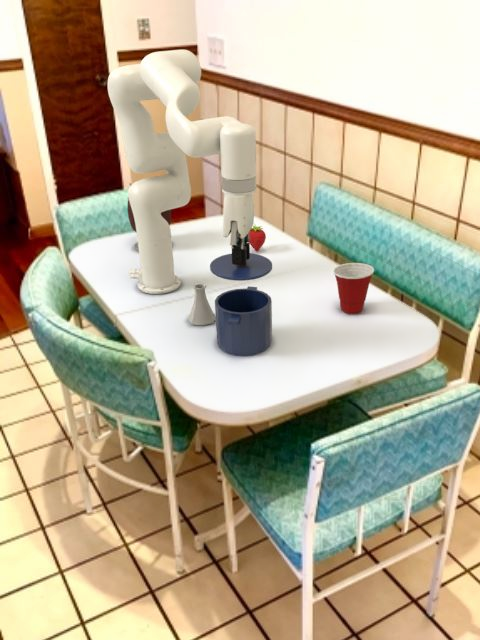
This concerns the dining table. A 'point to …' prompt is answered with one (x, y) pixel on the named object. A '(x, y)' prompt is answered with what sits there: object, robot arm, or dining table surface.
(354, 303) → the plastic cup
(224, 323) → the pot
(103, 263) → the dining table surface
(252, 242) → the strawberry
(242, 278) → the pot lid
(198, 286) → the flask
